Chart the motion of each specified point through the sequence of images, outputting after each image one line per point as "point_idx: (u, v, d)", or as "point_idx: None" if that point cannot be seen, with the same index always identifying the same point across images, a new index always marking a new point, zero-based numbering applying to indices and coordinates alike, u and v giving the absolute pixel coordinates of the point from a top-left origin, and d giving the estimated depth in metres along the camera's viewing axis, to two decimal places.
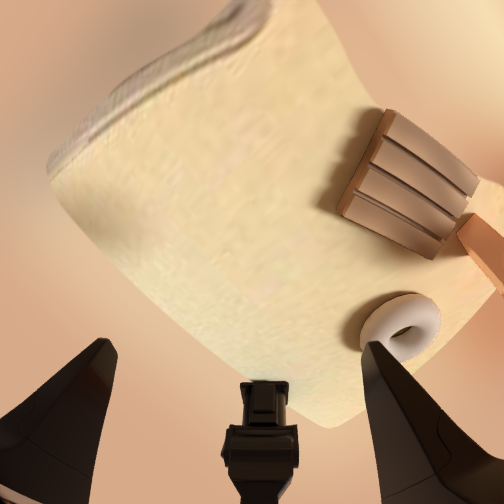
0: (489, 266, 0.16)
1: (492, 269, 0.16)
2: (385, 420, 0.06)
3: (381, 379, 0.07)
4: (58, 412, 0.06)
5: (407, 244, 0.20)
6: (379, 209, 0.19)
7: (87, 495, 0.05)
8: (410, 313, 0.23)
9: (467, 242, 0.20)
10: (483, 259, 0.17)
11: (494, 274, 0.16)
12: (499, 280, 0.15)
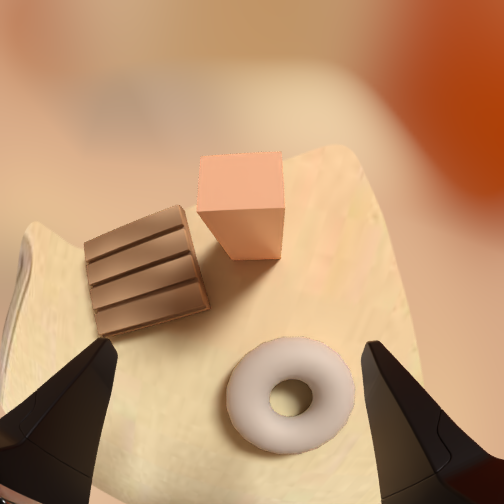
0: None
1: None
2: (385, 420, 0.06)
3: (381, 379, 0.07)
4: (57, 412, 0.06)
5: (160, 314, 0.21)
6: (114, 309, 0.21)
7: (87, 495, 0.05)
8: (244, 370, 0.18)
9: None
10: None
11: (218, 236, 0.17)
12: (215, 232, 0.16)
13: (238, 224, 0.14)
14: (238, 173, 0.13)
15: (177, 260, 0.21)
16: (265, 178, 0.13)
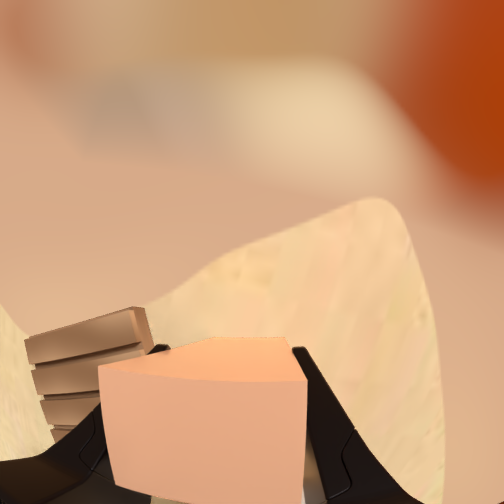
0: None
1: None
2: None
3: None
4: None
5: None
6: None
7: None
8: None
9: None
10: None
11: None
12: None
13: None
14: (189, 435, 0.04)
15: None
16: (258, 455, 0.04)
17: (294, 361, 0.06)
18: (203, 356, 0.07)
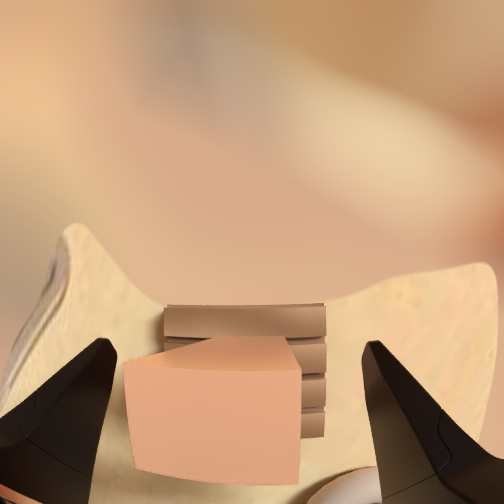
0: None
1: None
2: (386, 420, 0.06)
3: (382, 379, 0.07)
4: (57, 412, 0.06)
5: None
6: None
7: (87, 495, 0.05)
8: (339, 499, 0.12)
9: None
10: None
11: None
12: None
13: None
14: (203, 419, 0.05)
15: (308, 382, 0.15)
16: (261, 434, 0.05)
17: (291, 356, 0.07)
18: (211, 352, 0.08)
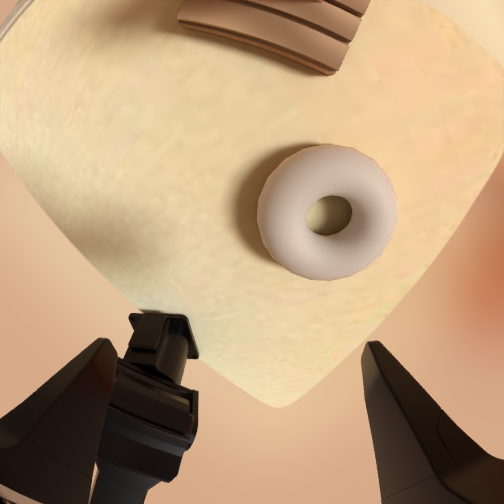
0: None
1: None
2: (385, 420, 0.06)
3: (381, 379, 0.07)
4: (58, 412, 0.06)
5: (281, 41, 0.12)
6: (222, 1, 0.11)
7: (87, 495, 0.05)
8: (323, 160, 0.15)
9: None
10: None
11: None
12: None
13: None
14: None
15: (344, 12, 0.11)
16: None
17: None
18: None
